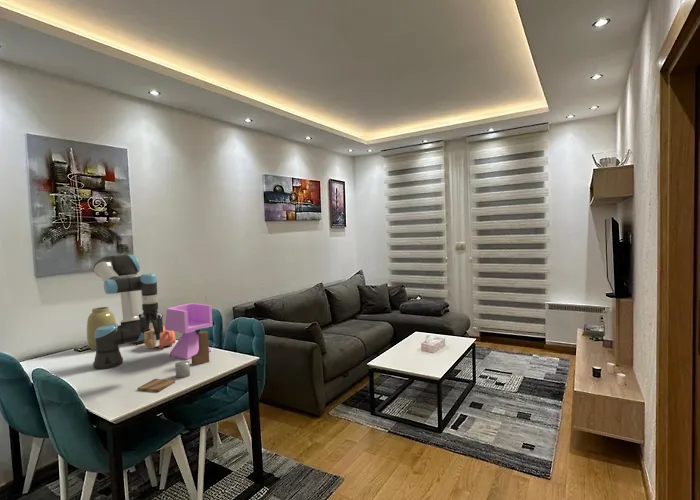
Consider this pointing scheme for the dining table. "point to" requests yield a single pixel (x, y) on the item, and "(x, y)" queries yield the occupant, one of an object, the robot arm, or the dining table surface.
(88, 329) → the vase
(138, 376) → the dining table surface
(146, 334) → the oak block
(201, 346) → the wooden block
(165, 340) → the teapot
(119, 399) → the dining table surface
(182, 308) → the chair
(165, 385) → the walnut board
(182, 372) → the grey dome cap
